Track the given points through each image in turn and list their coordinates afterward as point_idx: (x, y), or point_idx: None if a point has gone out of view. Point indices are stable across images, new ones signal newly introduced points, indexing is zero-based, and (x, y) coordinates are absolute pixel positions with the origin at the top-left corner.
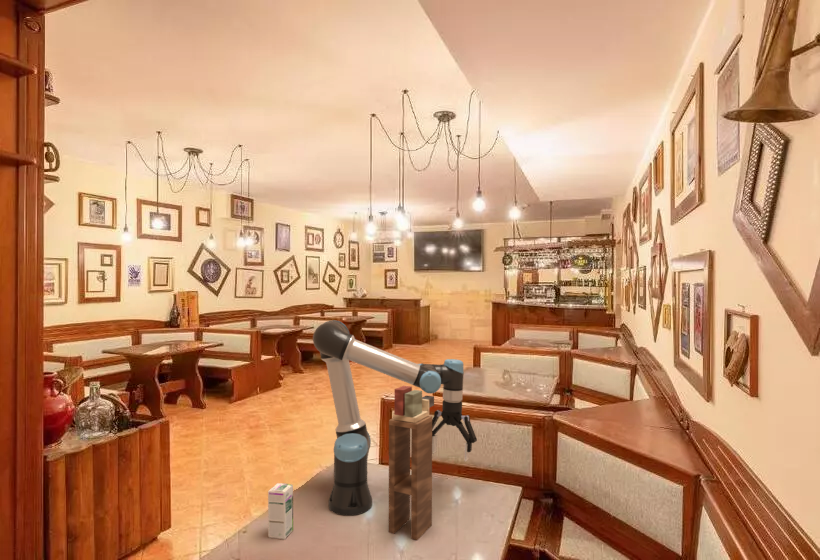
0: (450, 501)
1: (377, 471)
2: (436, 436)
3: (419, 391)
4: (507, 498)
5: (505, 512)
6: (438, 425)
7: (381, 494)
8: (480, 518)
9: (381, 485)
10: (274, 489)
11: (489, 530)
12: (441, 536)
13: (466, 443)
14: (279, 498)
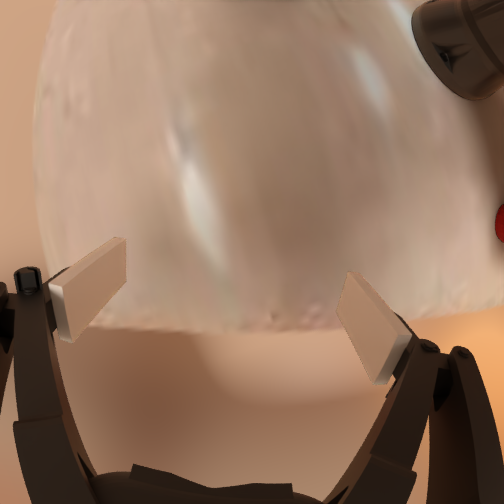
0: (203, 130)
1: (470, 272)
2: (376, 368)
3: None
4: (54, 236)
5: (42, 145)
6: (415, 433)
7: (430, 119)
8: (92, 73)
9: (449, 181)
10: None
11: (71, 37)
12: None
13: (54, 291)
14: None
